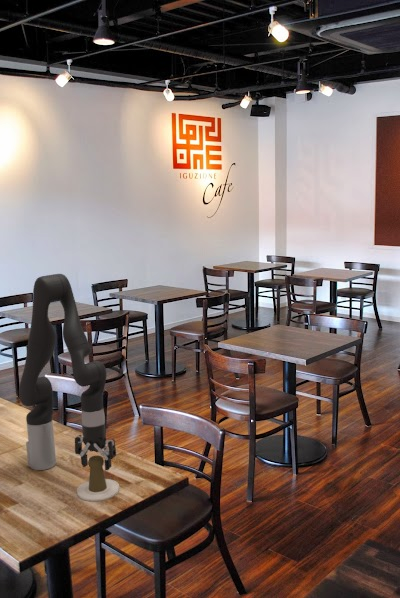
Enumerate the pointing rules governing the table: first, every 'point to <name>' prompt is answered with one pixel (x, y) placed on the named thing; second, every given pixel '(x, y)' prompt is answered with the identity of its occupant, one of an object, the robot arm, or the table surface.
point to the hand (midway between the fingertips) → (96, 467)
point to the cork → (96, 474)
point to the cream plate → (98, 496)
